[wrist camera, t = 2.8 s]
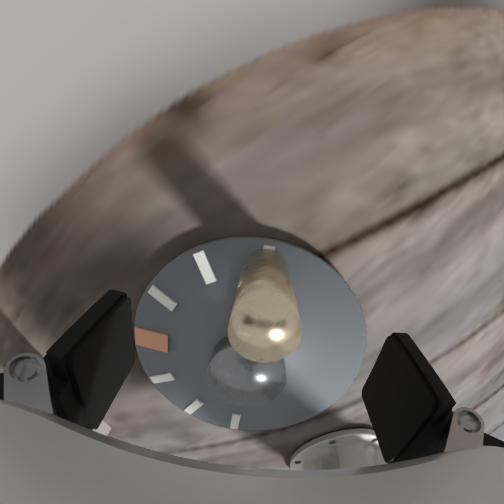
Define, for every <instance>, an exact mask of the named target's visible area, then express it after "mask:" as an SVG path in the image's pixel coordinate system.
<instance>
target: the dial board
mask: <svg viewBox="0 0 504 504" xmlns="http://www.w3.org/2000/svg"><path fill="white" fill-rule="evenodd" d="M260 249H270V250H274V251H276V252H278V253H280V254H281V255H282V256H283V257H284V258H285V260H286V262H287V264H288V268H289V272H290V276H291V281H292V285H293V289H294V294H295V298H296V303H297V307H298V312H299V316H300V321H301V325H302V337H301V340H300V343H299V345H298V346H297V348H296V349H295V350H294V351H293V352H292V353H291V354H290V355H288V356H287V357H285V367H286V385H285V387H284V389H283V391H282V392H281V394H280V395H279V396H278V397H277V398H275V399H274V400H272V401H270V402H268V403H266V404H262V405H258V406H239V405H234V404H231V403H228V402H226V401H224V400H222V399H221V398H219V397H218V396H217V395H215V394H214V393H213V392H212V390H211V389H210V387H209V385H208V383H207V380H206V371H207V367H208V364H209V360H210V357H211V353H212V351H213V349H214V347H215V345H216V344H217V343H218V342H219V341H220V340H222V339H223V338H225V337H227V336H228V325H229V320H230V316H231V312H232V308H233V304H234V300H235V295H236V291H237V287H238V283H239V279H240V275H241V271H242V266H243V263H244V261H245V259H246V258H247V257H248V256H249V255H250V254H251V253H253V252H254V251H257V250H260ZM134 339H135V346H136V350H137V353H138V357H139V360H140V362H141V364H142V367H143V369H144V371H145V372H146V374H147V376H148V377H149V379H150V380H151V382H152V383H153V384H154V385H155V387H156V388H157V389H158V390H159V391H160V392H161V393H162V394H163V395H164V396H165V397H166V398H167V399H168V400H169V401H170V402H172V403H173V404H174V405H175V406H177V407H178V408H180V409H181V410H183V411H184V412H186V413H188V414H190V415H192V416H194V417H196V418H198V419H200V420H202V421H205V422H207V423H210V424H214V425H217V426H220V427H225V428H230V429H237V430H250V431H260V430H272V429H277V428H283V427H287V426H290V425H294V424H297V423H300V422H302V421H305V420H307V419H309V418H311V417H313V416H315V415H317V414H319V413H321V412H322V411H324V410H325V409H327V408H328V407H330V406H331V405H332V404H333V403H334V402H336V401H337V400H338V399H339V398H340V397H341V396H342V395H343V394H344V393H345V392H346V390H347V389H348V388H349V386H350V385H351V384H352V382H353V381H354V379H355V377H356V376H357V374H358V372H359V370H360V367H361V365H362V362H363V359H364V355H365V350H366V341H367V331H366V323H365V318H364V315H363V312H362V308H361V306H360V304H359V302H358V300H357V298H356V296H355V294H354V293H353V291H352V290H351V288H350V287H349V285H348V284H347V283H346V281H345V280H344V279H343V277H342V276H341V275H340V274H339V273H338V272H337V271H336V270H335V269H334V268H333V267H332V266H331V265H330V264H328V263H327V262H326V261H324V260H323V259H322V258H320V257H319V256H317V255H316V254H314V253H312V252H310V251H308V250H307V249H305V248H303V247H300V246H297V245H295V244H292V243H290V242H287V241H282V240H278V239H274V238H269V237H260V236H233V237H226V238H220V239H215V240H212V241H209V242H206V243H202V244H200V245H197V246H195V247H193V248H191V249H189V250H187V251H185V252H183V253H182V254H180V255H179V256H177V257H176V258H174V259H173V260H172V261H170V262H169V263H168V264H167V265H166V266H165V267H164V268H163V269H162V270H161V271H160V272H159V273H158V274H157V275H156V276H155V277H154V278H153V280H152V281H151V282H150V283H149V285H148V286H147V288H146V289H145V291H144V293H143V295H142V297H141V299H140V302H139V304H138V307H137V310H136V315H135V321H134Z"/></svg>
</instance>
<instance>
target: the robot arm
mask: <svg viewBox="0 0 504 504" xmlns="http://www.w3.org/2000/svg"><path fill="white" fill-rule="evenodd" d="M46 353H47V354H46V356H45V357H44V358H43V359H42V358H41V357H40V356H39V355H37V354H34V353H20V354H17V355H15V356H13V357H12V358H10V359H9V360H8V362H7V363H6V365H5V369H4V373H0V504H504V442H503V441H501V440H499V439H497V438H494V437H492V436H490V435H488V434H486V433H484V422H483V419H482V418H481V416H480V415H479V414H478V413H477V412H476V411H474V410H472V409H470V408H466V407H461V408H458V409H457V410H455V411H454V413H453V411H452V410H451V409H452V408H453V407H454V405H455V404H456V402H455V400H454V399H453V397H452V396H451V394H450V393H449V391H448V390H447V388H446V387H445V385H444V384H443V382H442V381H441V379H440V378H439V376H438V375H437V374H436V372H435V371H434V369H433V368H432V366H431V365H430V364H429V362H428V361H427V359H426V358H425V357H424V355H423V354H422V352H421V351H420V350H419V348H418V347H417V345H416V344H415V343H414V341H413V340H412V339H411V337H410V336H409V335H408V334H407V333H392V334H391V336H388V337H387V339H386V341H385V343H384V345H383V347H382V350H381V352H380V354H379V356H378V358H377V360H376V363H375V365H374V367H373V369H372V371H371V373H370V375H369V377H368V379H367V381H366V383H365V385H364V387H363V389H362V398H363V401H364V404H365V406H366V409H367V412H368V415H369V418H370V420H371V423H372V426H373V429H374V430H371V429H363V428H358V429H347V430H341V431H336V432H332V433H329V434H326V435H323V436H320V437H318V438H315V439H313V440H311V441H309V442H308V443H306V444H304V445H303V446H301V447H300V448H298V449H297V450H296V451H295V452H294V453H293V455H292V457H291V459H290V470H271V469H257V468H246V467H236V466H228V465H221V464H215V463H208V462H203V461H197V460H192V459H187V458H182V457H178V456H173V455H169V454H165V453H161V452H157V451H153V450H150V449H146V448H143V447H139V446H136V445H133V444H130V443H127V442H124V441H121V440H118V439H115V438H112V437H109V436H106V435H103V434H100V433H98V432H95V431H93V429H95V430H96V429H97V428H98V427H99V426H100V424H101V422H102V420H103V418H104V416H105V414H106V413H107V411H108V409H109V407H110V405H111V404H112V402H113V400H114V398H115V396H116V395H117V393H118V391H119V389H120V387H121V386H122V384H123V382H124V380H125V379H126V377H127V375H128V373H129V372H130V370H131V368H132V366H133V364H134V360H135V355H134V344H133V330H132V313H131V299H130V298H128V297H127V295H126V293H124V292H120V291H116V290H109V291H108V292H107V293H106V294H105V295H104V296H103V297H102V298H100V299H99V300H98V301H97V302H96V303H95V304H94V305H93V306H92V307H91V308H90V309H89V310H88V311H87V312H86V313H85V314H84V315H83V316H82V317H80V318H79V319H78V320H77V321H76V322H75V323H74V324H73V325H72V326H71V327H70V328H69V329H68V330H67V331H66V332H65V333H64V334H63V335H62V336H61V337H60V338H59V339H58V340H57V341H56V342H55V343H54V344H53V345H52V346H51V347H50V348H49V350H48V351H47V352H46Z"/></svg>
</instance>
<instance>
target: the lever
mask: <svg viewBox="0 0 504 504" xmlns="http://www.w3.org/2000/svg"><path fill="white" fill-rule="evenodd" d="M301 337H302V325H301V321H300V316H299V312H298V307H297V303H296V298H295V294H294V289H293V285H292V281H291V276H290V272H289V268H288V264H287V262H286V260H285V258H284V257H283V256H282V255H281V254H280V253H278V252H276V251H274V250H270V249H260V250H257V251H254V252H253V253H251V254H250V255H249V256H248V257H247V258H246V259H245V261H244V263H243V266H242V271H241V275H240V279H239V283H238V287H237V291H236V295H235V300H234V304H233V308H232V312H231V316H230V320H229V325H228V336H227V337H225V338H223V339H222V340H220V341H219V342H218V343H217V344H216V345H215V347H214V349H213V351H212V353H211V357H210V360H209V364H208V367H207V371H206V380H207V383H208V385H209V387H210V389H211V390H212V392H213V393H214V394H215V395H217V396H218V397H219V398H221V399H222V400H224V401H226V402H228V403H231V404H234V405H239V406H258V405H262V404H266V403H268V402H270V401H272V400H274V399H275V398H277V397H278V396H279V395H280V394H281V392H282V391H283V389H284V387H285V385H286V367H285V357H287V356H288V355H290V354H291V353H292V352H293V351H294V350H295V349H296V348H297V346H298V345H299V343H300V340H301Z"/></svg>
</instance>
